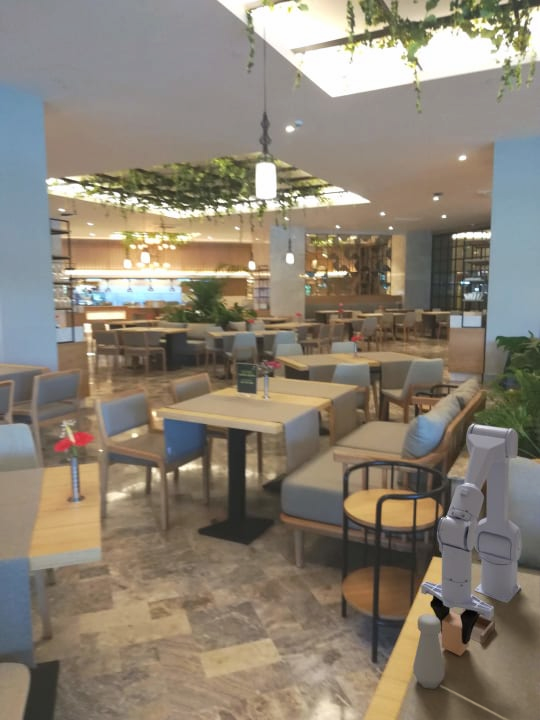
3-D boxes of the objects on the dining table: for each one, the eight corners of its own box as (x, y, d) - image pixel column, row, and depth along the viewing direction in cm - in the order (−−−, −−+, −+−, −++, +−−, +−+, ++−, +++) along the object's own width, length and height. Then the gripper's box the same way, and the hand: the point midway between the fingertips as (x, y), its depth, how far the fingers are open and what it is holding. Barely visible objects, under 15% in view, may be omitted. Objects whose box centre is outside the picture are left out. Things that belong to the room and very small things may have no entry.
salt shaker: (446, 694, 98) (447, 629, 97) (414, 690, 100) (414, 626, 98) (442, 672, 104) (443, 610, 102) (412, 669, 105) (412, 608, 104)
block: (450, 637, 113) (450, 611, 112) (468, 646, 110) (469, 619, 109) (441, 647, 110) (442, 620, 109) (460, 655, 107) (460, 628, 106)
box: (463, 617, 121) (463, 608, 121) (494, 630, 116) (494, 621, 116) (450, 631, 116) (450, 622, 116) (482, 645, 112) (482, 635, 111)
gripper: (414, 570, 110) (413, 631, 112) (484, 596, 100) (482, 662, 102) (430, 557, 115) (429, 616, 117) (498, 581, 105) (496, 644, 107)
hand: (455, 636), depth 110 cm, fingers closed on block, 4 cm apart
